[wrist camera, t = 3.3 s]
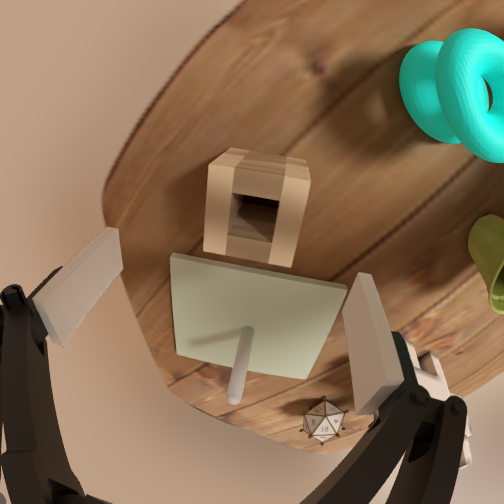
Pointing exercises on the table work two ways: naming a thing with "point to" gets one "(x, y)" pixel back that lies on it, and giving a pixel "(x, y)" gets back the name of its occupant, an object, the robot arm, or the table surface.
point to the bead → (255, 206)
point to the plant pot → (489, 256)
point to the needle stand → (250, 318)
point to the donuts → (458, 91)
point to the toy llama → (436, 390)
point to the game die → (323, 421)
